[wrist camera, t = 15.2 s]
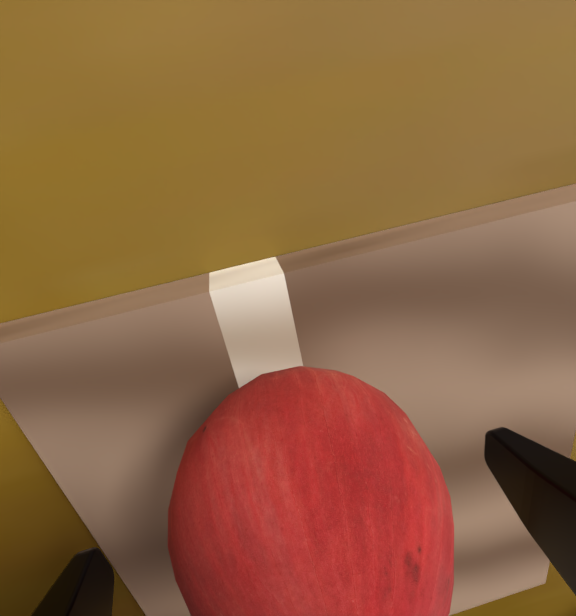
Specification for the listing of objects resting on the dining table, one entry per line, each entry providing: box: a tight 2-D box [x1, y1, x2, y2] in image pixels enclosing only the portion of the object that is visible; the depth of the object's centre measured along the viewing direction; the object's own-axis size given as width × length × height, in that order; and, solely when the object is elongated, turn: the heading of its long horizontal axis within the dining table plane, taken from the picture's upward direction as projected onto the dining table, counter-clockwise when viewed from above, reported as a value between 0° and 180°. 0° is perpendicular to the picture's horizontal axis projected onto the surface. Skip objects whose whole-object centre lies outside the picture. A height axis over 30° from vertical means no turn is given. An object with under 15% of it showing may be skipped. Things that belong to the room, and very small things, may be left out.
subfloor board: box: [0, 184, 576, 616], centre depth 15 cm, size 20×18×2 cm
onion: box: [168, 366, 454, 616], centre depth 8 cm, size 6×6×8 cm
